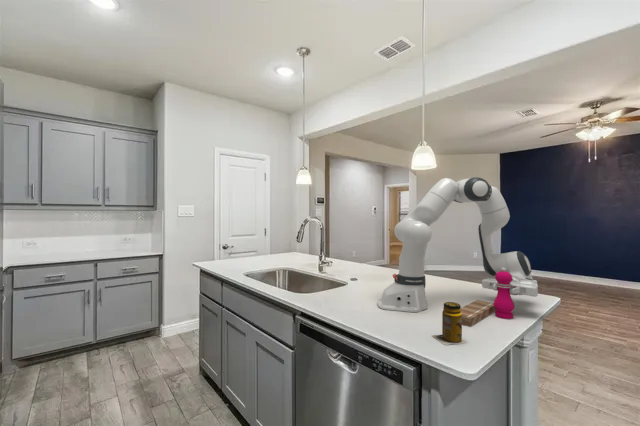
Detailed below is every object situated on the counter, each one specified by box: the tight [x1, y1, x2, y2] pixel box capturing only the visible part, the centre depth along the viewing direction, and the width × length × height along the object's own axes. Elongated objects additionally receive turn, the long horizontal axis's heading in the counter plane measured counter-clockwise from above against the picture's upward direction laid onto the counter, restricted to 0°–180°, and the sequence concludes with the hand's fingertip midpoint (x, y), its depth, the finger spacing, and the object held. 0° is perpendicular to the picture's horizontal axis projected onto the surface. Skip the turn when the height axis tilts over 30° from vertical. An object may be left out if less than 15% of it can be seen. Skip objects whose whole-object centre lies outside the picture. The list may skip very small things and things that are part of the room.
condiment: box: [431, 301, 468, 346], centre depth 102 cm, size 7×8×12 cm
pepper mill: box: [493, 267, 515, 320], centre depth 124 cm, size 7×7×20 cm
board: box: [460, 299, 496, 328], centre depth 125 cm, size 28×8×3 cm, turn 132°
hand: (503, 289), depth 123 cm, fingers closed on pepper mill, 5 cm apart
